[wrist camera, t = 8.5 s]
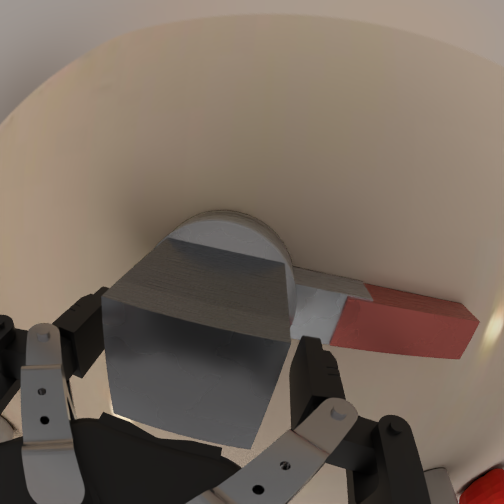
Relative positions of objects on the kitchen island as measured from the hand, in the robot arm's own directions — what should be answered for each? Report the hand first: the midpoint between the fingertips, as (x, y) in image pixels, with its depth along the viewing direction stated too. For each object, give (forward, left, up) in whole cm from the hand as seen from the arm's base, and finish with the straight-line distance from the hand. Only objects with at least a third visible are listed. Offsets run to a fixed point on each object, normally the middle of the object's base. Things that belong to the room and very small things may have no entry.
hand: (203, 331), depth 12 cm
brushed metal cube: (0, 0, -3) cm, 3 cm away
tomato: (-58, +12, -6) cm, 60 cm away
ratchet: (-6, -2, -6) cm, 8 cm away
